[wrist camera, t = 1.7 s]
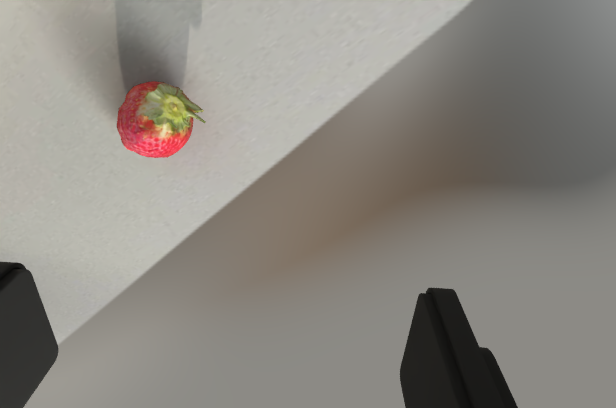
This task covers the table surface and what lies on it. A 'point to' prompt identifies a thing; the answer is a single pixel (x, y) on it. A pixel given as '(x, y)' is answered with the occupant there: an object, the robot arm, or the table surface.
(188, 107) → the fruit
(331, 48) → the table surface
